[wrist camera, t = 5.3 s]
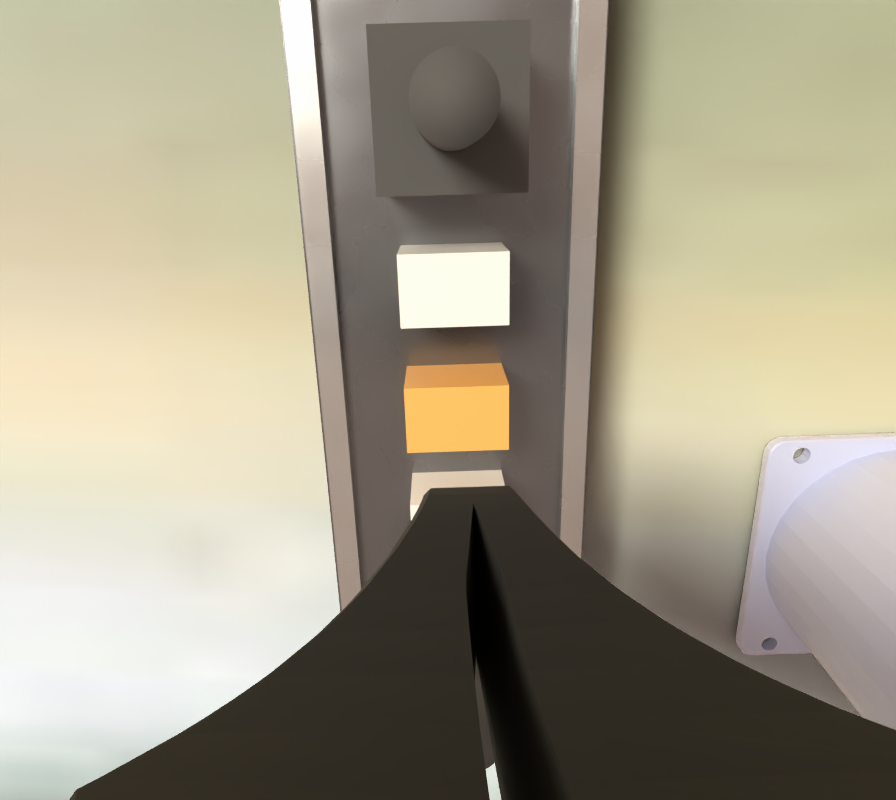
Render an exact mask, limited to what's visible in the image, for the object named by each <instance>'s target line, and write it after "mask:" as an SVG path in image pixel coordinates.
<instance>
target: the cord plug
mask: <svg viewBox="0 0 896 800" xmlns="http://www.w3.org/2000/svg"><path fill="white" fill-rule="evenodd" d="M366 37H367V53H368V69H369V85H370V101H371V117H372V134H373V150H374V166H375V182H376V197H398V196H432V195H465V194H499V193H528V191H529V117H530V44H531V20H495V21H459V22H422V23H385V24H366Z"/></svg>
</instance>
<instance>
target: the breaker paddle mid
mask: <svg viewBox="0 0 896 800" xmlns="http://www.w3.org/2000/svg"><path fill="white" fill-rule="evenodd" d="M404 402H405V421H406V439H407V453H423V452H453V451H483V450H509V384H508V381H507V378H506V375H505V372H504V369H503V366H502V363H487V364H456V365H425V366H407V369H406V376H405V384H404Z"/></svg>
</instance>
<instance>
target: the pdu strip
mask: <svg viewBox="0 0 896 800" xmlns="http://www.w3.org/2000/svg"><path fill="white" fill-rule="evenodd" d="M279 5H280V14H281V24H282V34H283V44H284V54H285V64H286V74H287V84H288V94H289V104H290V114H291V124H292V134H293V144H294V154H295V164H296V174H297V184H298V194H299V204H300V213H301V223H302V233H303V243H304V253H305V263H306V273H307V283H308V293H309V303H310V313H311V323H312V333H313V343H314V353H315V363H316V373H317V383H318V393H319V403H320V413H321V422H322V432H323V442H324V452H325V462H326V472H327V482H328V492H329V502H330V512H331V522H332V532H333V542H334V552H335V562H336V572H337V582H338V592H339V602H340V612H341V611H342V610H343V609H344V608H345V607H346V606H347V605H348V604H349V603H350V601H351V600H352V599H353V598H354V597H355V596H356V595H357V594H358V593H359V591H360V590H361V589H362V588H363V587H364V585H365V584H366V583H367V582H368V581H369V579H370V578H371V577H372V576H373V574H374V573H375V572H376V571H377V569H378V568H379V567H380V566H381V564H382V563H383V562H384V561H385V559H386V558H387V557H388V555H389V554H390V552H391V551H392V549H393V548H394V546H395V545H396V543H397V542H398V541H399V539H400V538H401V536H402V535H403V533H404V532H405V530H406V529H407V527H408V525H409V523H410V522H411V514H410V499H411V485H412V473H423V472H453V471H482V470H501V471H502V475H503V479H504V484H505V486H510V487H511V488H512V489H513V490H515V491H516V492H517V494H518V495H519V496H520V497H521V498H522V499H523V500H524V502H525V503H526V504H527V505H528V506H529V507H530V508H531V509H532V511H533V512H534V513H535V514H536V515H537V516H538V517H539V518H540V519H541V520H542V521H543V522H544V523H545V525H546V526H547V527H548V528H549V529H550V530H551V531H552V532H553V533H554V534H555V535H556V536H557V537H558V538H559V539H560V540H562V541H563V542H564V543H565V544H566V545H567V546H568V547H569V548H570V549H571V550H572V551H573V552H574V553H575V554H576V555H577V556H578V557H579V558H581V559H582V547H583V526H584V506H585V486H586V465H587V445H588V424H589V404H590V384H591V363H592V343H593V322H594V302H595V282H596V261H597V241H598V220H599V200H600V179H601V159H602V139H603V118H604V98H605V77H606V57H607V37H608V16H609V0H279ZM495 20H531V44H530V117H529V191H528V193H499V194H465V195H432V196H398V197H376V182H375V166H374V150H373V134H372V117H371V101H370V85H369V69H368V53H367V37H366V24H385V23H422V22H459V21H495ZM492 242H502V243H503V245H504V246H505V247H506V248H507V249H508V250H509V251H510V295H509V325H499V326H468V327H436V328H405V329H401V327H400V308H399V290H398V271H397V253H398V250H399V248H400V246H401V245H426V244H459V243H492ZM487 363H502V366H503V369H504V372H505V375H506V378H507V381H508V384H509V450H483V451H453V452H423V453H407V439H406V421H405V402H404V384H405V376H406V369H407V366H425V365H456V364H487Z"/></svg>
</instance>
